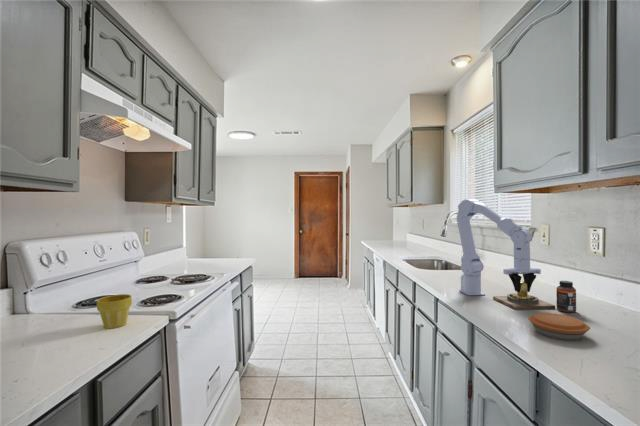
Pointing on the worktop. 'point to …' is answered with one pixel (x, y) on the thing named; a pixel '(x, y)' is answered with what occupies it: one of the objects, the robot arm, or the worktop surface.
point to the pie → (559, 326)
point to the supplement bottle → (566, 297)
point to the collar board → (521, 306)
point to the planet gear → (523, 292)
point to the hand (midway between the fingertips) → (522, 291)
